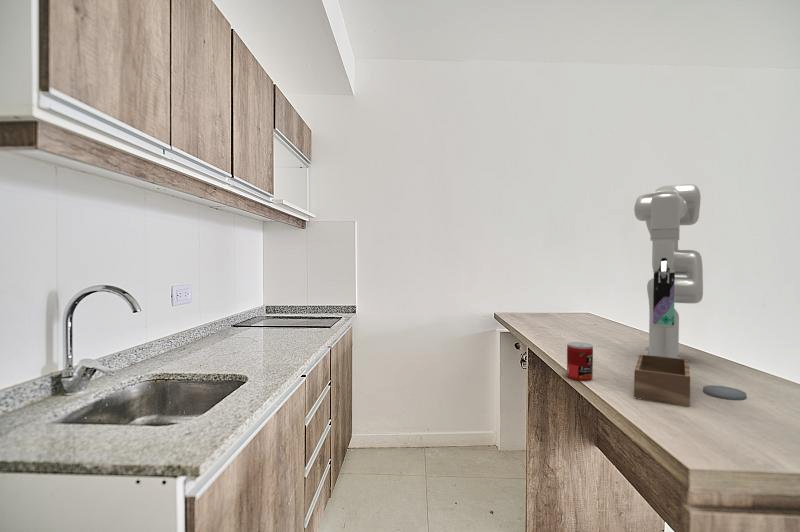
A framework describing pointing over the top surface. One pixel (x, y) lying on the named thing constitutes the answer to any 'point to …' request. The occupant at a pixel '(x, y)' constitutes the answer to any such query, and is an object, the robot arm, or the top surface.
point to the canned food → (580, 361)
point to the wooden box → (662, 380)
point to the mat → (724, 392)
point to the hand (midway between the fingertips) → (663, 294)
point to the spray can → (664, 303)
